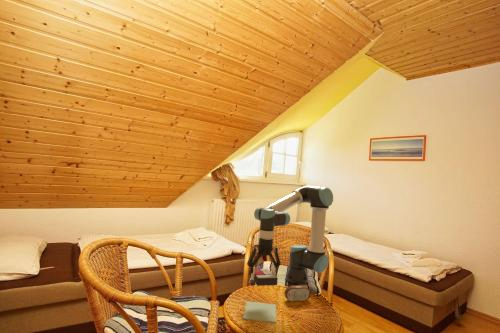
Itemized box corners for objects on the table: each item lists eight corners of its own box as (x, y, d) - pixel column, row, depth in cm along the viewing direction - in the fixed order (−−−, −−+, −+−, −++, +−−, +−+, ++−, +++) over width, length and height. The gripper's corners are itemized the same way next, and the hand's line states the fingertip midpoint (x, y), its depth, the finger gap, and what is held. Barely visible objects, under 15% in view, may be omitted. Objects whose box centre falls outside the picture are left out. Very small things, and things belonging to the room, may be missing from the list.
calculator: (268, 268, 162) (278, 276, 147) (267, 275, 161) (277, 285, 147) (249, 268, 159) (257, 277, 144) (249, 276, 158) (257, 285, 144)
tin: (307, 299, 166) (308, 284, 166) (310, 301, 163) (311, 286, 163) (283, 300, 162) (284, 285, 162) (285, 302, 159) (286, 287, 159)
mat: (276, 305, 154) (276, 304, 154) (275, 323, 137) (276, 321, 137) (246, 302, 156) (246, 301, 156) (242, 319, 138) (242, 317, 138)
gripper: (283, 236, 161) (280, 275, 160) (243, 236, 153) (239, 277, 153) (289, 239, 153) (285, 280, 153) (247, 239, 146) (244, 282, 145)
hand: (262, 278), depth 153 cm, fingers closed on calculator, 11 cm apart
